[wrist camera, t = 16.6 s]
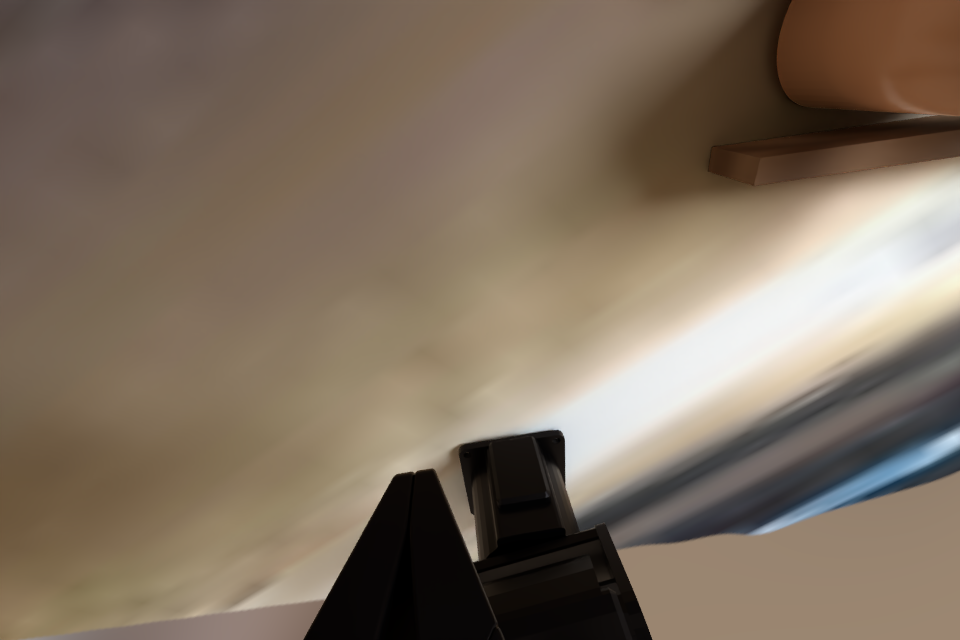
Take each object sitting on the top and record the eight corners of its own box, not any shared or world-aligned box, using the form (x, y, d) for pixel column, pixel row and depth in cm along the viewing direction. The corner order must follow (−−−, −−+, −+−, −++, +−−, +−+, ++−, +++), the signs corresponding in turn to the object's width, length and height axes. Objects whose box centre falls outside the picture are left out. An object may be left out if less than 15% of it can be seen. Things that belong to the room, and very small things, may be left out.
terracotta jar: (883, 95, 17) (1159, 101, 11) (760, 126, 17) (979, 150, 11) (941, -93, 14) (1364, -223, 8) (792, -62, 14) (1125, -176, 8)
